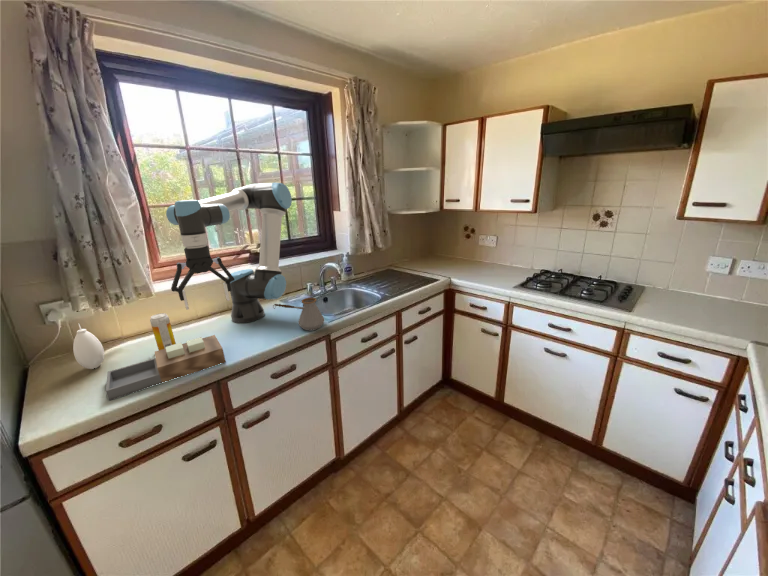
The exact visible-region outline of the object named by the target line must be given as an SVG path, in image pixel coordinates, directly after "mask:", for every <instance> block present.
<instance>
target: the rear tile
mask: <svg viewBox="0 0 768 576" xmlns="http://www.w3.org/2000/svg"><path fill="white" fill-rule="evenodd" d="M202 338H203V337H202V336H201V337H200V336H199V337H196V338H192V339H189V340H186V341H185V343H187V347H188V349H189V352H193V351H197V350H200V349H203V348H205V345H204V341H203V340H202Z"/></svg>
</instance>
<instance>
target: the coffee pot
mask: <svg viewBox="0 0 768 576" xmlns="http://www.w3.org/2000/svg"><path fill="white" fill-rule="evenodd" d="M316 302H317V298H315V297H305V298H304V299H302V300H301V303H302V305H303V306H294V305H289V304H281V303H279V304H278V303H273V305H272V308H273V310H275V309H276V307H278V308H280V307H282V308H285V309H286V308H287V309H297V310H301V312H300V315H299V319H298V321H297V322H298V323H297V324H298V325H299V327H300V328H302V329H303V330H305V331H310V332H311V331H316V330H318V329H320V328H321V327H322V326H323V324H324V323H325V317H324V316H323V314H322V313H321V310H320V309H319V308H318V306H317V304H316Z"/></svg>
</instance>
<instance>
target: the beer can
mask: <svg viewBox="0 0 768 576" xmlns="http://www.w3.org/2000/svg"><path fill="white" fill-rule="evenodd" d="M170 321H171V320H170V317H169V315H168V313H164V312H163V313H156V314H153V315H151V316H150V319H149V322H150V326H151V329H152V332H153V336H154V339H155V342H156V346H157V349H158V350H157V351H159V350H162V349H166V348H165V347H167V346H171V345H174V344H177V343H176V340H175V335H174V331H173V329H172V328H173V327H172V326H171V325H172V324H171V322H170Z"/></svg>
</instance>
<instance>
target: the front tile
mask: <svg viewBox="0 0 768 576" xmlns="http://www.w3.org/2000/svg"><path fill="white" fill-rule="evenodd" d="M182 344H183V343H182V342H178V343H176V344H174V345H171V346H167V347H165V348H166V352H167V355H168V359H169V358H173V357H176V356H180V355H183V354H185V352H184V349H183V346H182Z"/></svg>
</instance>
